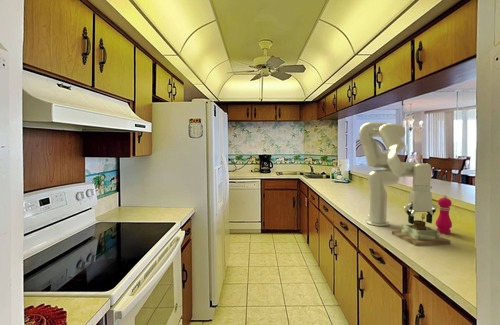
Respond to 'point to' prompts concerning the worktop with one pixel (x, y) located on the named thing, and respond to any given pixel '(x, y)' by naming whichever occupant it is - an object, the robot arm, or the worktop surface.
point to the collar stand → (420, 236)
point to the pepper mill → (444, 216)
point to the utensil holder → (419, 223)
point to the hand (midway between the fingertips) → (420, 223)
